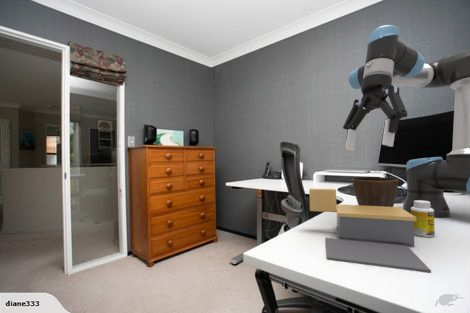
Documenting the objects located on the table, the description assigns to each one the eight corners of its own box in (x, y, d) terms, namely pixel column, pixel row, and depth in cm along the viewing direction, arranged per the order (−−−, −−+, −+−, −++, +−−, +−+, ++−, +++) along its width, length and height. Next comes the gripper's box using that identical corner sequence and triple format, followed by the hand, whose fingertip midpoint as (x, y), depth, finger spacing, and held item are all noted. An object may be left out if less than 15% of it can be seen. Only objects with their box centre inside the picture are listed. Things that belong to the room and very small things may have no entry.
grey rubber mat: (406, 247, 59) (406, 245, 59) (431, 272, 46) (430, 270, 46) (325, 239, 67) (325, 237, 67) (326, 259, 54) (326, 257, 54)
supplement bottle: (431, 239, 65) (430, 203, 65) (408, 234, 69) (407, 201, 70) (437, 235, 68) (436, 201, 68) (415, 230, 73) (414, 199, 73)
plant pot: (397, 229, 74) (396, 181, 74) (348, 222, 84) (347, 179, 84) (401, 219, 85) (400, 177, 85) (358, 214, 95) (356, 176, 95)
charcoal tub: (399, 232, 71) (398, 210, 71) (414, 246, 60) (413, 220, 60) (337, 227, 77) (336, 207, 77) (340, 239, 66) (339, 215, 66)
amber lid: (400, 215, 71) (399, 188, 71) (416, 226, 59) (415, 194, 59) (311, 210, 81) (310, 186, 81) (309, 219, 69) (308, 191, 69)
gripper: (338, 89, 78) (328, 148, 76) (407, 53, 53) (395, 138, 51) (356, 95, 79) (347, 153, 77) (432, 63, 55) (421, 146, 53)
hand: (366, 148), depth 64 cm, fingers open, 13 cm apart
